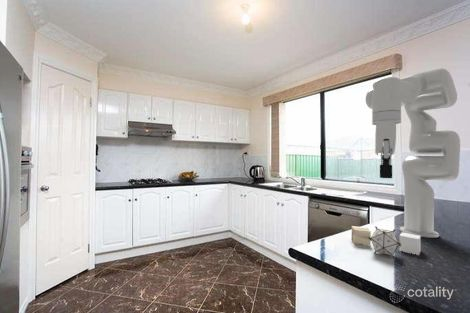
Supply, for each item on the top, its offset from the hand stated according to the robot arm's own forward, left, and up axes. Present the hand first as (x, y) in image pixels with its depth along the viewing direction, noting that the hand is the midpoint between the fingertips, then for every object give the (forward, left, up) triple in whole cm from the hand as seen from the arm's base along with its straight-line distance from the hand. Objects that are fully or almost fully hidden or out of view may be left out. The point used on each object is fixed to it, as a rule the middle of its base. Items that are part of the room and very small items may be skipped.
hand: (385, 177), depth 72 cm
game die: (0, 0, -24) cm, 24 cm away
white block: (-9, +7, -24) cm, 26 cm away
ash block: (-8, -7, -24) cm, 26 cm away
